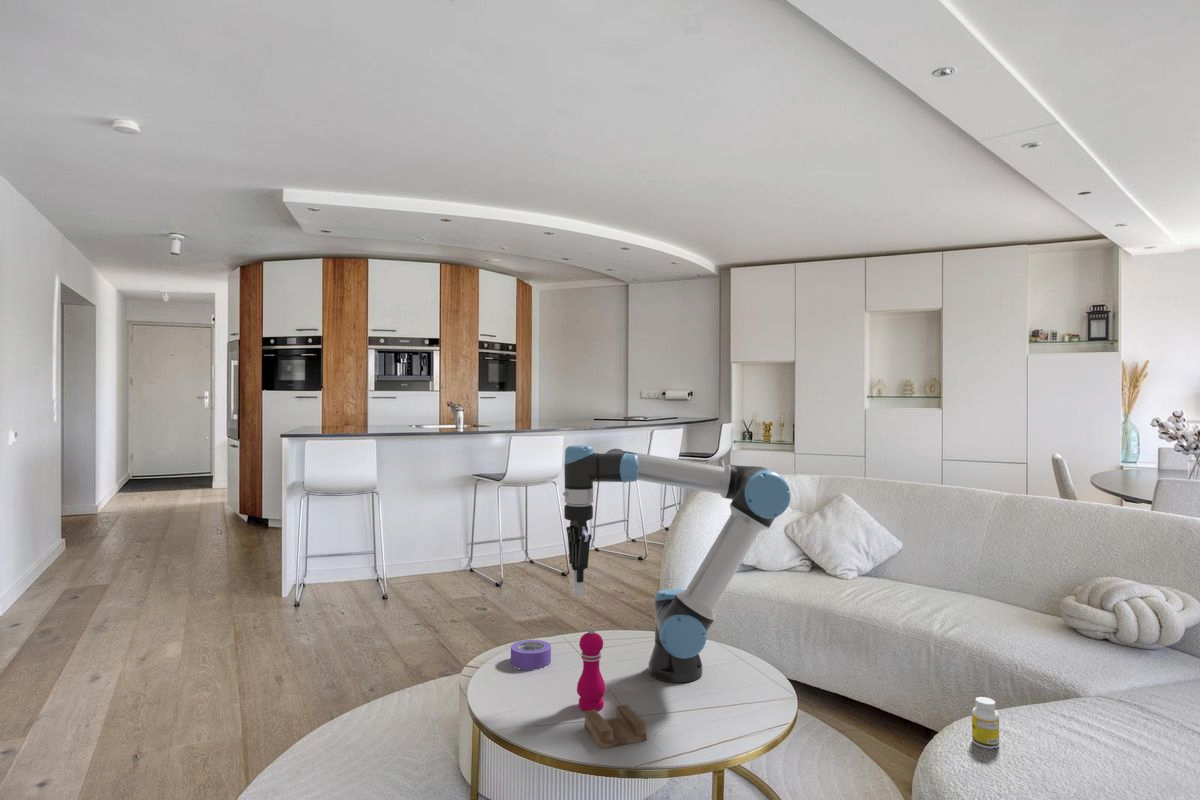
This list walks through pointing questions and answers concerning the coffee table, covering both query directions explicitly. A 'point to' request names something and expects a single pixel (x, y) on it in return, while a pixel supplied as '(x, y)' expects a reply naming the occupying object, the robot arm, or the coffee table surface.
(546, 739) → the coffee table surface
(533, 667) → the tape roll
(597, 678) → the pepper mill
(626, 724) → the cradle
